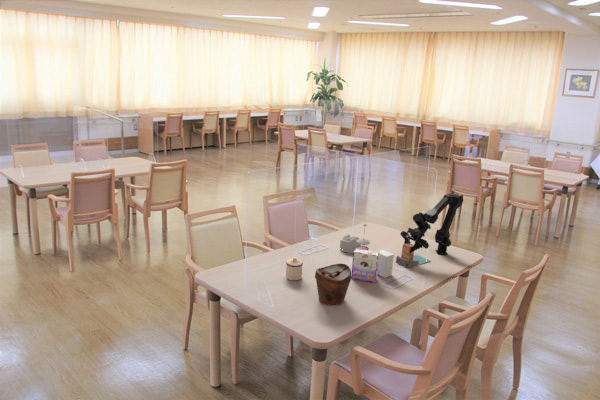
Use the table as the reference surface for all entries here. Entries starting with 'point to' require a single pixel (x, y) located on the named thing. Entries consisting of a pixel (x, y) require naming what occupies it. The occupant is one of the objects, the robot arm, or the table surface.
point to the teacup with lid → (294, 269)
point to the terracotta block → (407, 252)
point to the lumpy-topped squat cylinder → (349, 243)
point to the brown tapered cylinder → (333, 283)
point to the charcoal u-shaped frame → (406, 262)
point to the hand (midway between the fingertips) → (406, 250)
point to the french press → (363, 242)
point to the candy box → (365, 265)
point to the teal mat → (420, 259)
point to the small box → (385, 263)
